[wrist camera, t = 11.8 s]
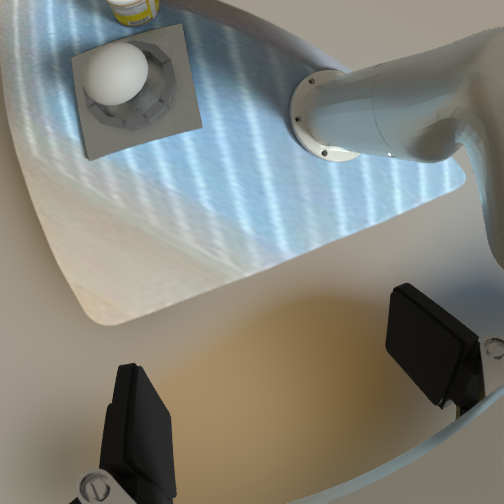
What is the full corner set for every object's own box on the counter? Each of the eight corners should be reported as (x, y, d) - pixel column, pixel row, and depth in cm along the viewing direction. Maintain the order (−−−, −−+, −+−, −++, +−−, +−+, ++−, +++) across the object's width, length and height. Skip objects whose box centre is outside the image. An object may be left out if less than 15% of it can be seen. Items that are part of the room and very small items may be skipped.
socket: (167, 40, 26) (166, 31, 24) (182, 115, 30) (181, 112, 27) (87, 65, 25) (79, 59, 22) (100, 139, 29) (92, 139, 26)
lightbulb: (97, 82, 26) (63, 61, 16) (142, 55, 26) (126, 21, 16) (118, 123, 29) (90, 115, 19) (165, 95, 29) (155, 74, 19)
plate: (182, 26, 27) (182, 23, 26) (202, 128, 32) (202, 127, 31) (73, 59, 25) (71, 57, 24) (91, 160, 30) (89, 161, 29)
